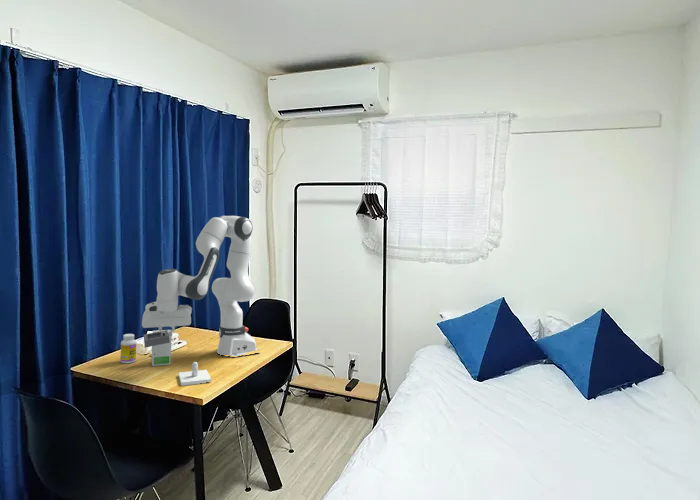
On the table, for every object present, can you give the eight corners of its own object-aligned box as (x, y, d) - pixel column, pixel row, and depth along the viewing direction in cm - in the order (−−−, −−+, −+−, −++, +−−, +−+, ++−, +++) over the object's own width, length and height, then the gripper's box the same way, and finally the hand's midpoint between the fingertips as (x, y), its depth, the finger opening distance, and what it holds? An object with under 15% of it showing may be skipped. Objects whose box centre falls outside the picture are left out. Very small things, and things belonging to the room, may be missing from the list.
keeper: (206, 372, 200) (207, 356, 199) (210, 382, 189) (211, 365, 189) (178, 375, 195) (178, 359, 194) (181, 385, 184) (181, 368, 183)
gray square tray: (168, 336, 201) (167, 330, 201) (169, 342, 192) (169, 335, 192) (144, 341, 197) (143, 334, 196) (144, 347, 188) (144, 340, 187)
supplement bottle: (129, 364, 205) (130, 337, 204) (117, 362, 206) (117, 336, 205) (139, 360, 211) (139, 334, 210) (127, 358, 213) (127, 332, 212)
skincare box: (151, 366, 204) (152, 333, 203) (151, 362, 210) (151, 330, 209) (171, 364, 208) (172, 332, 207) (169, 360, 214) (170, 328, 212)
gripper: (191, 303, 202) (190, 332, 203) (142, 305, 193) (141, 335, 194) (192, 306, 197) (192, 336, 198) (142, 308, 188) (141, 339, 189)
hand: (166, 336), depth 196 cm, fingers closed on gray square tray, 2 cm apart
